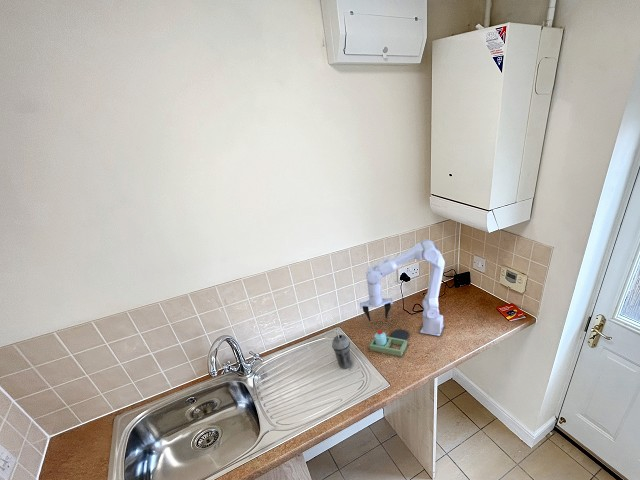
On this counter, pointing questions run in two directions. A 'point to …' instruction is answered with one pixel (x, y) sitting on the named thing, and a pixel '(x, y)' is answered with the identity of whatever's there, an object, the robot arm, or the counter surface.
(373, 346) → the bottle rack
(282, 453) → the counter surface
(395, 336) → the coaster
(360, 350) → the counter surface
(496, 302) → the counter surface
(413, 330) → the counter surface
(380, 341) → the bottle
